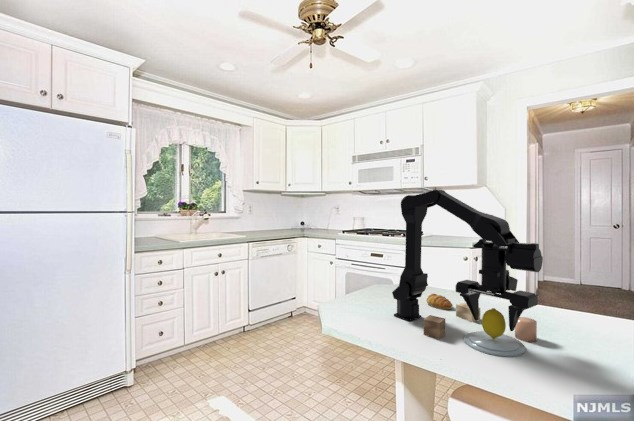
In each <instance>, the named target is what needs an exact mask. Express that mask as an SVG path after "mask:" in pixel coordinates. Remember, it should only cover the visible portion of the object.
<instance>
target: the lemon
mask: <svg viewBox="0 0 634 421" xmlns="http://www.w3.org/2000/svg"><path fill="white" fill-rule="evenodd" d="M504 316H505V315H503V313H502V312H500V311H499V310H497V308H493V307H492V308H490V309H487V310H486V311H485V312H484V313H483V314H482V318H481V327H482V329H483V330H482V331H485V333H486V334H488V335H489V336H491V338H492V339H495V338H497V337H499V336H501V335H503V334H504V333H505V331H506V326H507V325H506V318H505V317H504Z"/></svg>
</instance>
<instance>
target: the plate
mask: <svg viewBox="0 0 634 421" xmlns="http://www.w3.org/2000/svg"><path fill="white" fill-rule="evenodd" d="M463 340H464V341H463V342H464V343H465V344H466V345H467V346H468V347H470V348H471V349H473V350H475V351H478V352H480V353H483V354H487V355H491V356H498V357H507V358H509V357H518V356H521V355H523V354H524V353H525V352H526V346H525V344H524V343H522V342H521V340H519V339H517V338H514V337H513V336H510V335H507V334H504V333H503V335H501V336H499V337H497V338H495V339H492V338H491V336H489V335H488V334H486V333H485V331H484V330H476V331H472V332H468V333H466V334H465V335H464V339H463Z"/></svg>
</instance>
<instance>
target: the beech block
mask: <svg viewBox="0 0 634 421" xmlns="http://www.w3.org/2000/svg"><path fill="white" fill-rule="evenodd" d="M455 316H456V318H457V317H458V318H461V319H463V320H466V321H468V322H470V323H474V322H477V321H476V320H475V319H474V317H473V315H472V313H471V311H470V309H469V307H468V305H467V303H466V302H462V303H456V304H455ZM478 321H481V307H479V318H478Z"/></svg>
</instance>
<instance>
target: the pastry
mask: <svg viewBox="0 0 634 421" xmlns="http://www.w3.org/2000/svg"><path fill="white" fill-rule="evenodd" d="M426 304H427V305H428V306H431V307H432V308H436V309H437V310H438V309H439V310H445V311H446V310H450V309H452V308H453V304H452V303H451V301H450V299H448V298H447V297H446V296H443V295H441V294H439V295H438V294H436V293H431V294H430V295H428V296H427V298H426Z"/></svg>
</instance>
